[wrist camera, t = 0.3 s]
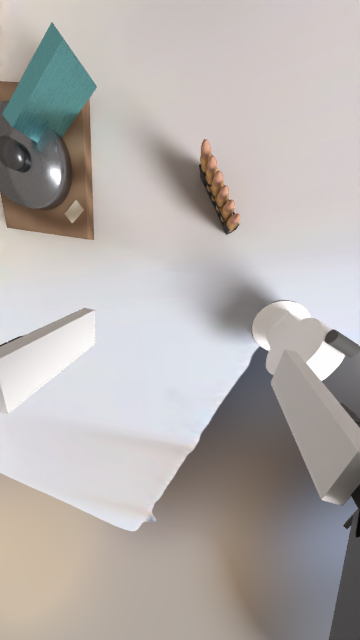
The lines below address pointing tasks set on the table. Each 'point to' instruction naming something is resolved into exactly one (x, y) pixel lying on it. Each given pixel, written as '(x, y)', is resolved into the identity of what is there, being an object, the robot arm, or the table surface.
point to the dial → (42, 125)
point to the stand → (78, 204)
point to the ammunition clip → (217, 189)
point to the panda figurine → (300, 338)
